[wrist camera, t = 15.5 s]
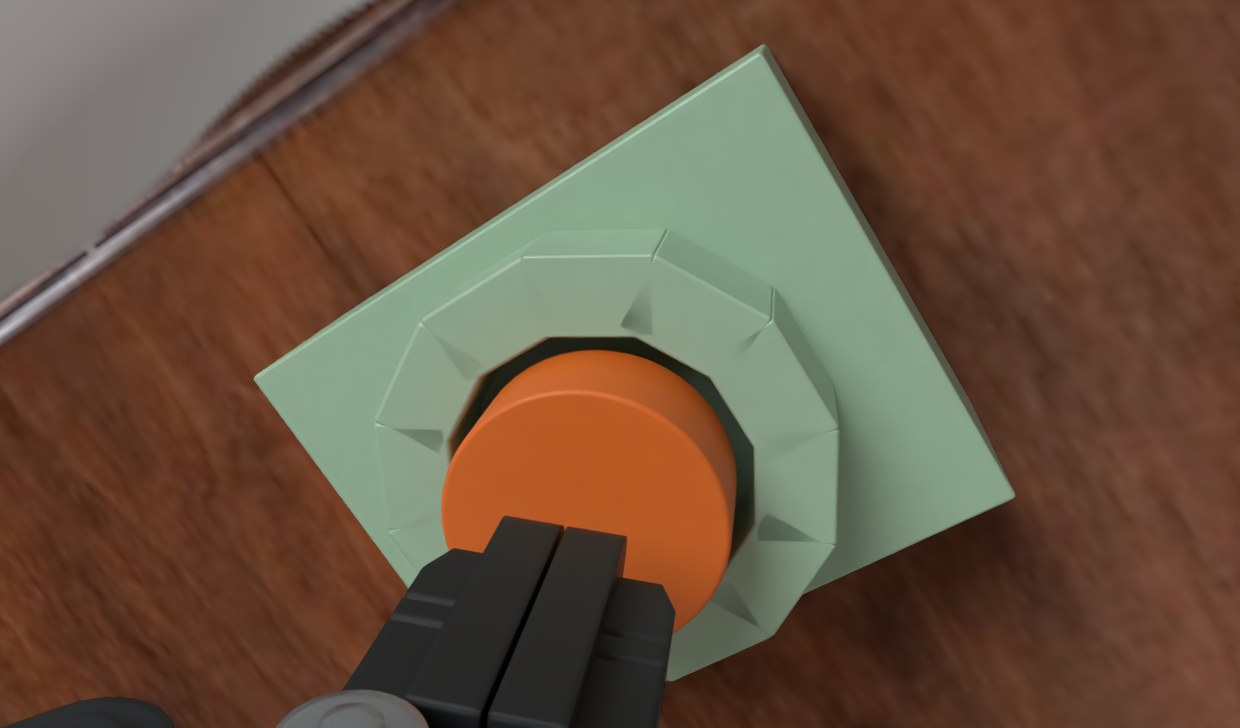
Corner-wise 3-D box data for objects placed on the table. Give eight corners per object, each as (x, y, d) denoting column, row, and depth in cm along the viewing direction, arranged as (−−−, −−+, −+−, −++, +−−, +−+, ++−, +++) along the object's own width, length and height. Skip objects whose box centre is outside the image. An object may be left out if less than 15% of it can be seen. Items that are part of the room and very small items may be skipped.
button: (425, 426, 15) (382, 475, 14) (644, 298, 14) (627, 335, 13) (567, 627, 16) (543, 696, 15) (787, 522, 15) (787, 584, 13)
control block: (348, 311, 21) (194, 417, 16) (764, 42, 18) (758, 55, 13) (557, 605, 23) (483, 799, 17) (971, 402, 20) (1046, 556, 14)
